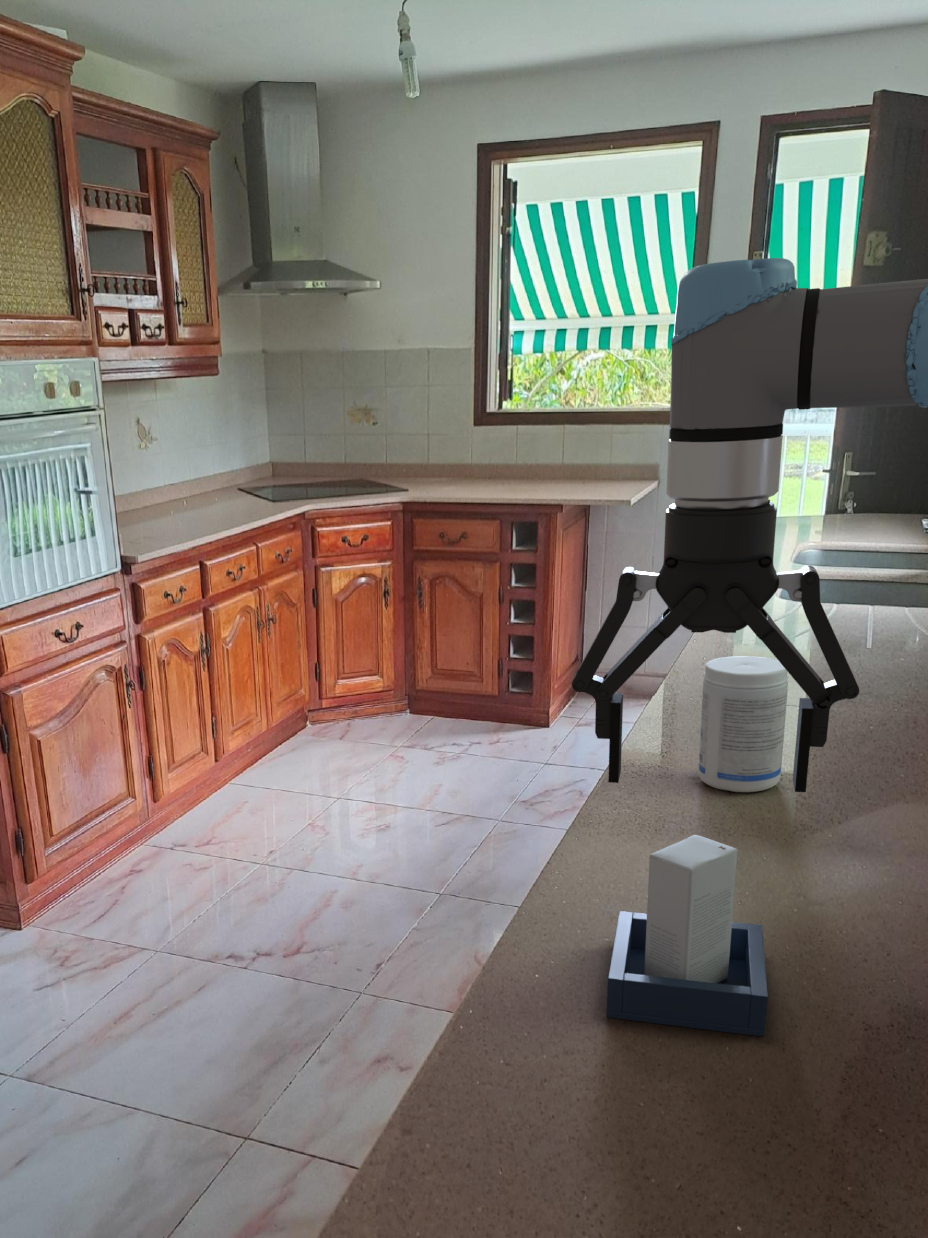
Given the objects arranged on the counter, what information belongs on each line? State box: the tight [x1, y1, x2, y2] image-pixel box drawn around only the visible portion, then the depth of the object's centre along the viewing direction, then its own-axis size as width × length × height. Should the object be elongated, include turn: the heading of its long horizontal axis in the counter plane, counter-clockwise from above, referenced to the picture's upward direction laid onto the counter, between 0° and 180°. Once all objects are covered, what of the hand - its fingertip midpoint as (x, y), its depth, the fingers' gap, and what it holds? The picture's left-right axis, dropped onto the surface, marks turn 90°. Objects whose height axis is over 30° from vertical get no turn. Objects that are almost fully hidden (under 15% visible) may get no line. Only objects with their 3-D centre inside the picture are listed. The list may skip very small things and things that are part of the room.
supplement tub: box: [697, 655, 789, 793], centre depth 134 cm, size 10×10×15 cm
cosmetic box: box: [644, 834, 738, 983], centre depth 91 cm, size 6×4×12 cm
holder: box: [605, 910, 769, 1038], centre depth 92 cm, size 12×12×4 cm
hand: (704, 781), depth 86 cm, fingers open, 13 cm apart
